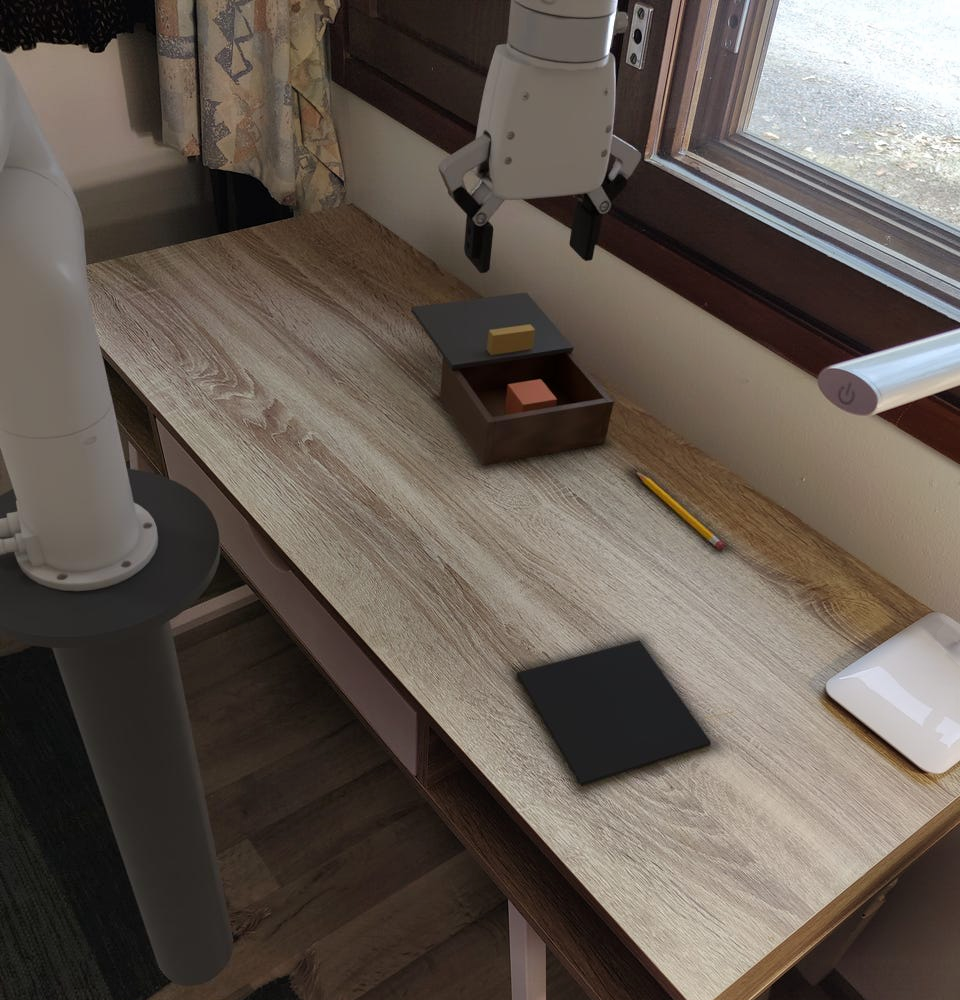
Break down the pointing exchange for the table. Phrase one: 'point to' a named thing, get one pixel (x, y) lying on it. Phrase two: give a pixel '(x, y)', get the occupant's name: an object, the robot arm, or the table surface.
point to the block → (528, 397)
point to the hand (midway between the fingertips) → (530, 259)
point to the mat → (612, 711)
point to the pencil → (681, 512)
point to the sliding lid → (490, 330)
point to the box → (520, 435)
